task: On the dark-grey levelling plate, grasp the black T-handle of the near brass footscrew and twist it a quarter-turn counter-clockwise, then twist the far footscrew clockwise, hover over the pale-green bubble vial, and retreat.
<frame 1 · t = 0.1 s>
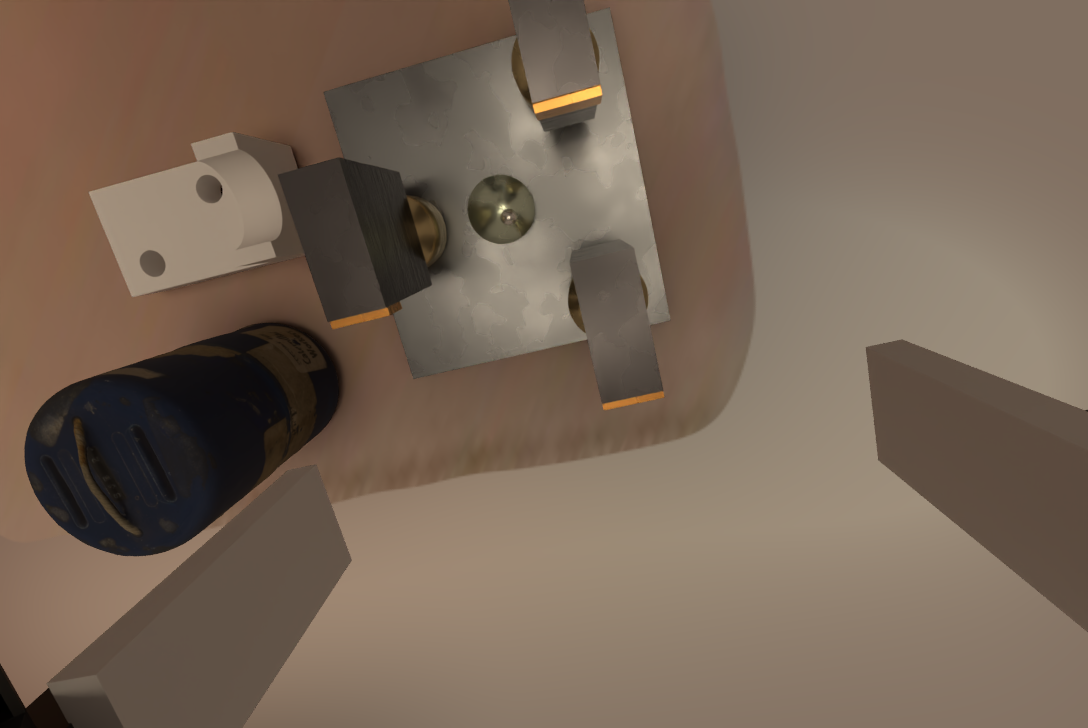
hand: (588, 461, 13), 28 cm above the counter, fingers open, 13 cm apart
bracket: (231, 221, 41), on the counter
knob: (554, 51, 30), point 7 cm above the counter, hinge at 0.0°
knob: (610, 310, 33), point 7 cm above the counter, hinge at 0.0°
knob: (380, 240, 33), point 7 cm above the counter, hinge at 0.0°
canister: (286, 378, 43), on the counter
level plate: (504, 210, 39), on the counter
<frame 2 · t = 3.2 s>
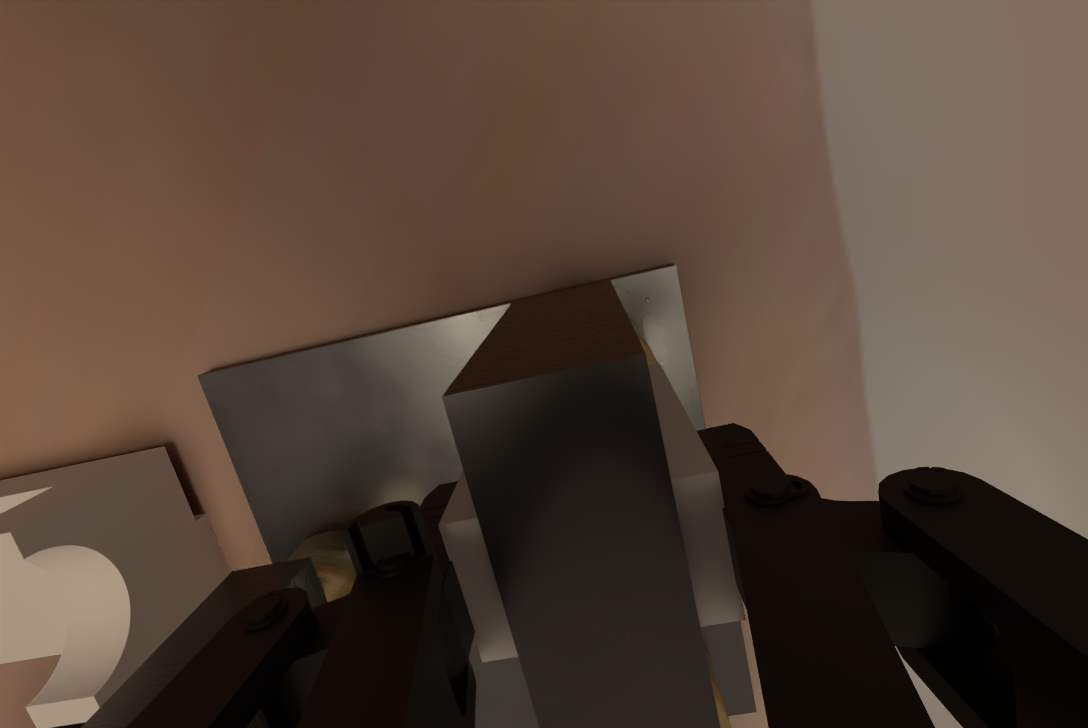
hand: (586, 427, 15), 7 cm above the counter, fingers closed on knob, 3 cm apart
bracket: (85, 532, 26), on the counter
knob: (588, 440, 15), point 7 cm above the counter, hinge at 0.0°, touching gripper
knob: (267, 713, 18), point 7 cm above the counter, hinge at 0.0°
level plate: (494, 542, 25), on the counter
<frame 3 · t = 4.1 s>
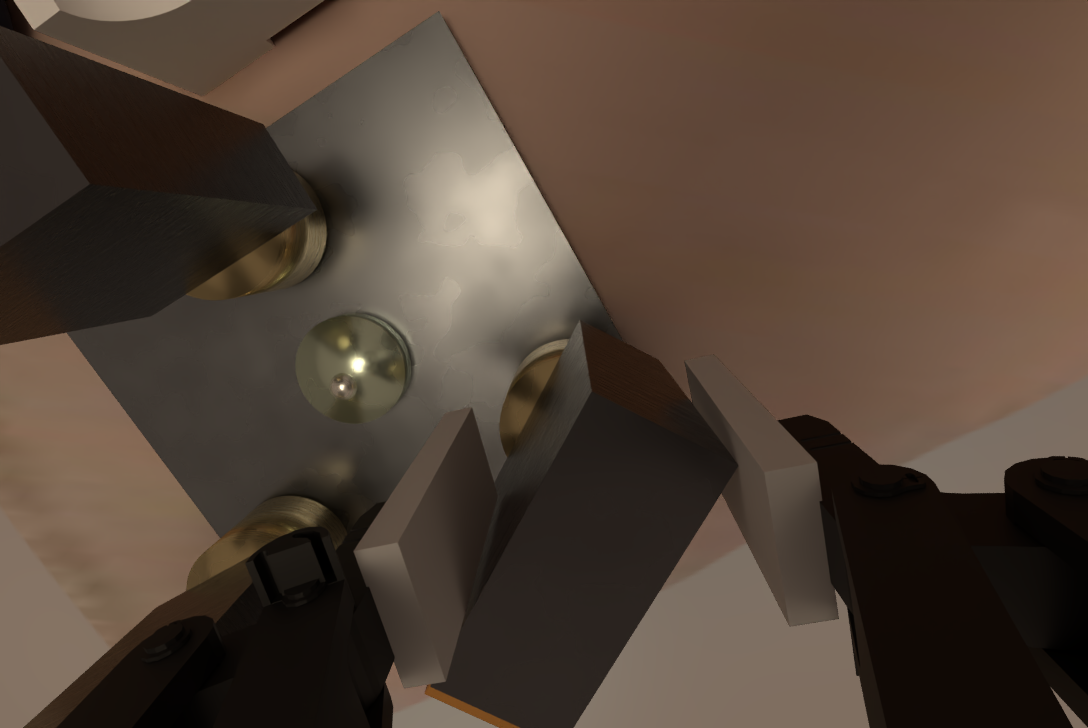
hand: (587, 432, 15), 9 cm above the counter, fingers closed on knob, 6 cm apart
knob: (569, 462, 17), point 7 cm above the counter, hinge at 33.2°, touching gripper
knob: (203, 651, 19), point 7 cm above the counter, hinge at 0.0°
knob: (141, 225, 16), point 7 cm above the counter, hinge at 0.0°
level plate: (365, 361, 24), on the counter
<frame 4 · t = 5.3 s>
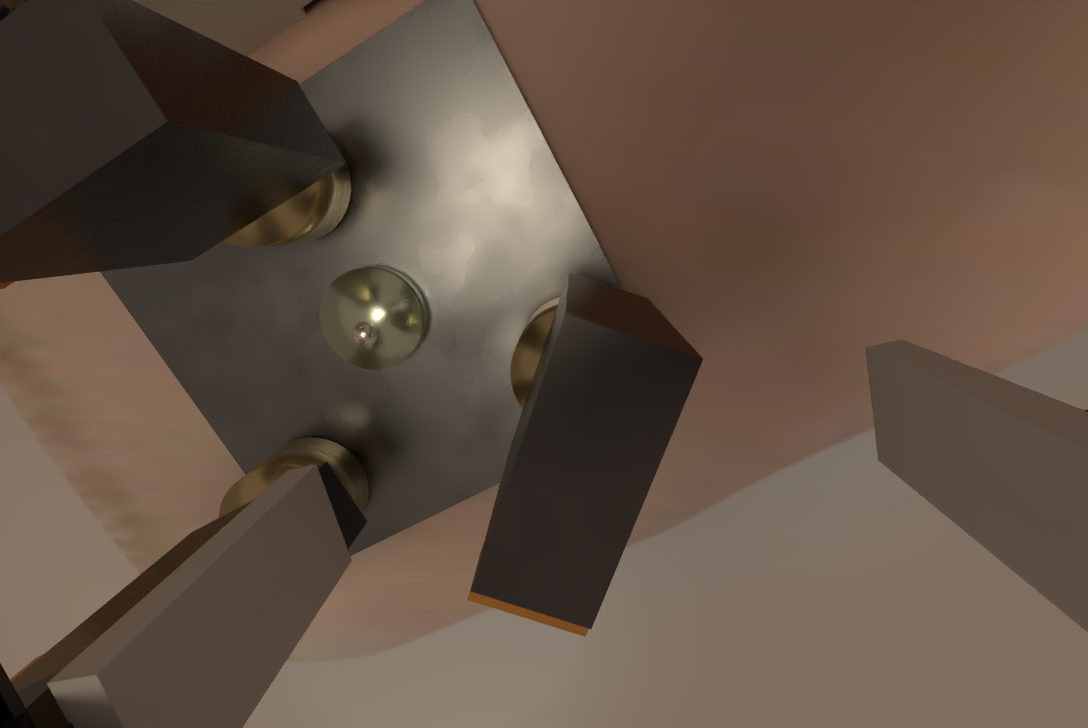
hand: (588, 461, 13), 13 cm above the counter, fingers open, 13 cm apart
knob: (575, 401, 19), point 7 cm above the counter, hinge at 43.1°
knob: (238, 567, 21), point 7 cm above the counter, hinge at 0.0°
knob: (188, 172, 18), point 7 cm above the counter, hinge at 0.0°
level plate: (384, 313, 26), on the counter
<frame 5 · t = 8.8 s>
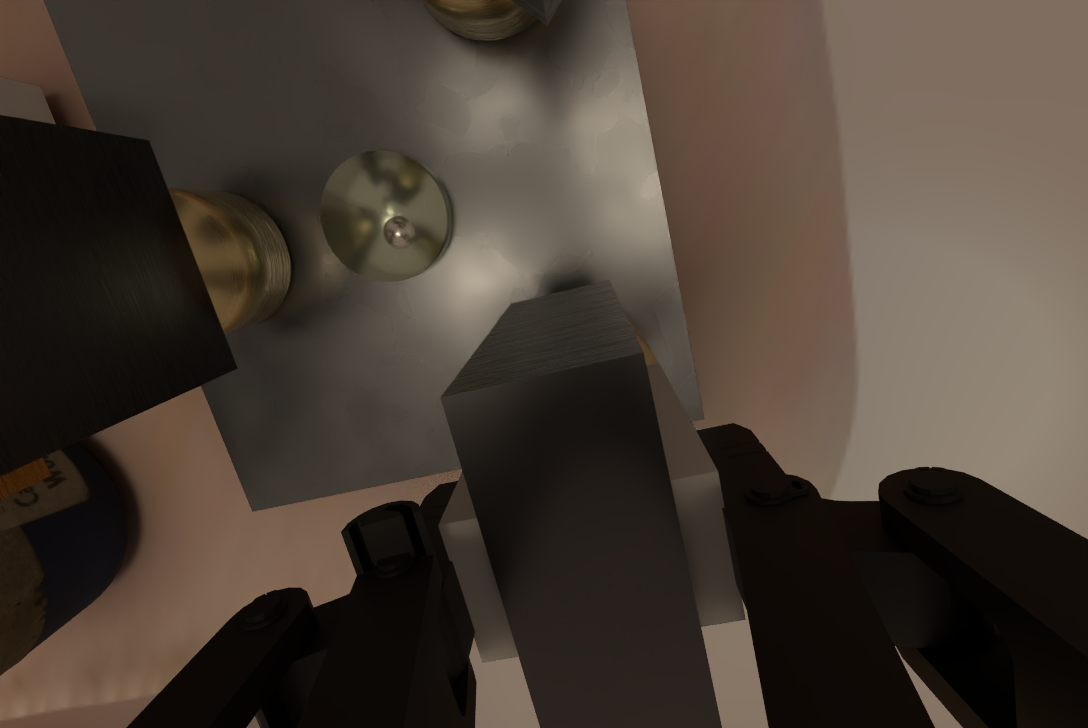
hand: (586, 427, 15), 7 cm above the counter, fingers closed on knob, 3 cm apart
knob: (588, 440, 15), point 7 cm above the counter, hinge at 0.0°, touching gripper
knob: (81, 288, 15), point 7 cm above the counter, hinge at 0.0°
canister: (47, 502, 26), on the counter
level plate: (399, 217, 21), on the counter
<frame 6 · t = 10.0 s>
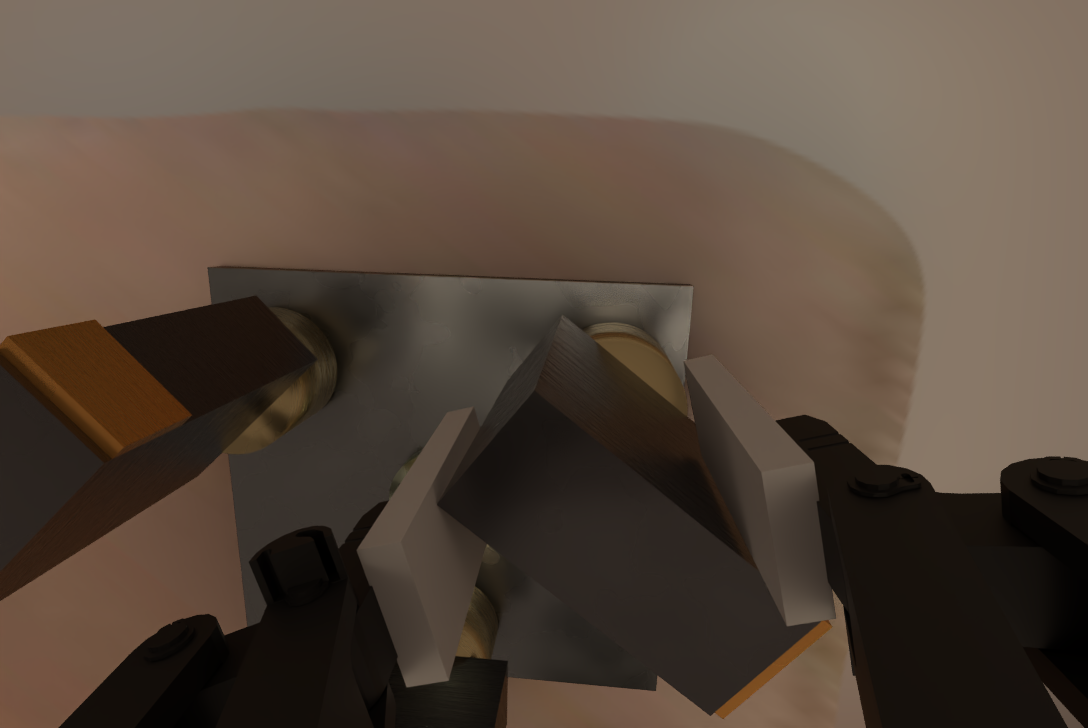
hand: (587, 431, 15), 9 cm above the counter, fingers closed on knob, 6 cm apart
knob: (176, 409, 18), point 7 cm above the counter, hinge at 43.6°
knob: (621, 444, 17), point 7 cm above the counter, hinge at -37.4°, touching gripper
level plate: (449, 483, 26), on the counter
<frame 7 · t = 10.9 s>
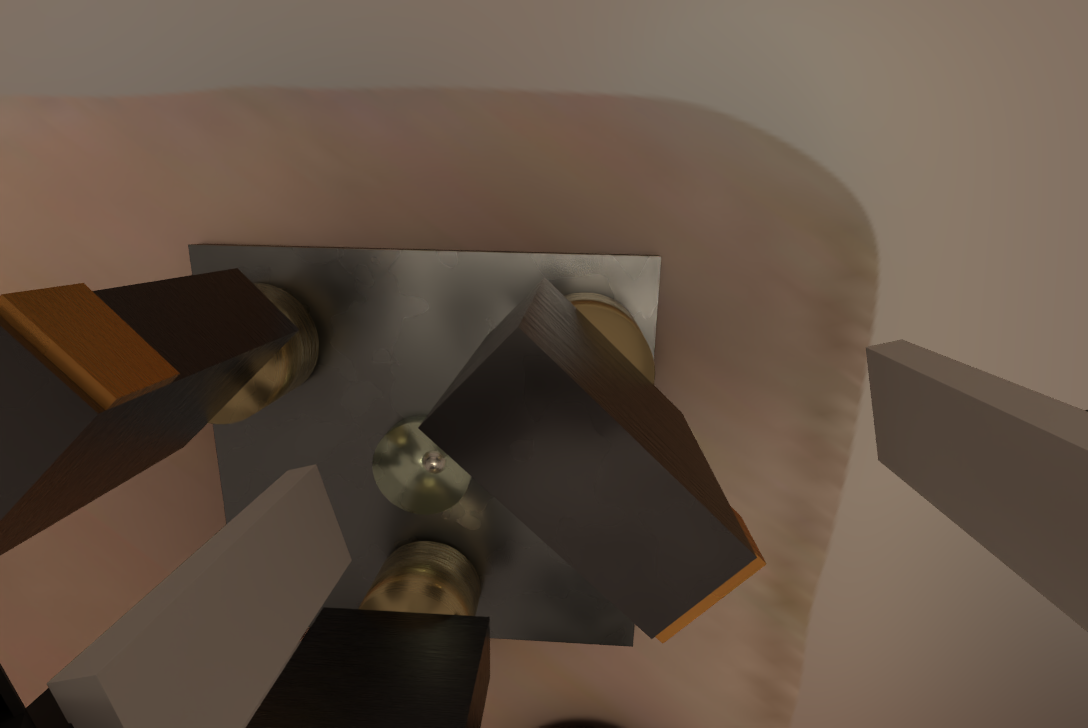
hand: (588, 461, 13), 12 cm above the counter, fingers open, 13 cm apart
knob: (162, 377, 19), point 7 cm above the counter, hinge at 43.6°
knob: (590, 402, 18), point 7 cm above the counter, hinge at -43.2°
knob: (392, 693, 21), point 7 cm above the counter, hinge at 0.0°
level plate: (431, 453, 27), on the counter
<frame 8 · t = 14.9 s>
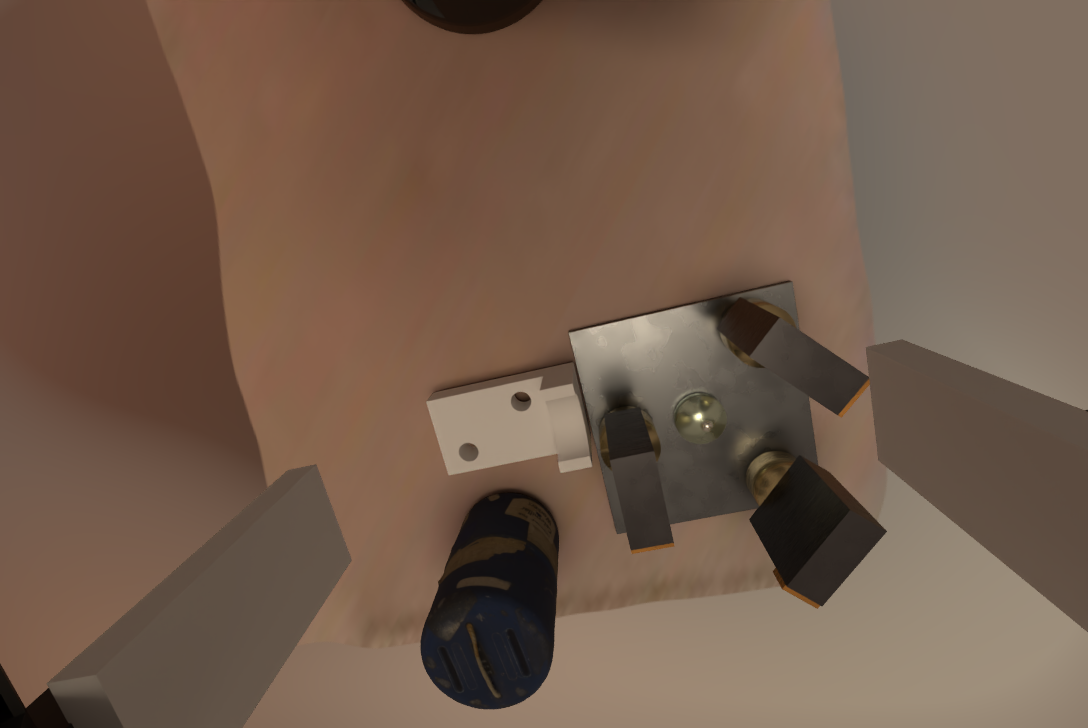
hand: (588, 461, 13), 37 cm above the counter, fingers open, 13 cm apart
bracket: (513, 409, 53), on the counter
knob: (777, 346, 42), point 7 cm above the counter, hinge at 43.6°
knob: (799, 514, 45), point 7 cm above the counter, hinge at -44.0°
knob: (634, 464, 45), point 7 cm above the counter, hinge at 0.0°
canister: (511, 529, 56), on the counter
level plate: (696, 413, 51), on the counter
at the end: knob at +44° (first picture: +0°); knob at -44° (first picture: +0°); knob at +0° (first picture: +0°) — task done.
